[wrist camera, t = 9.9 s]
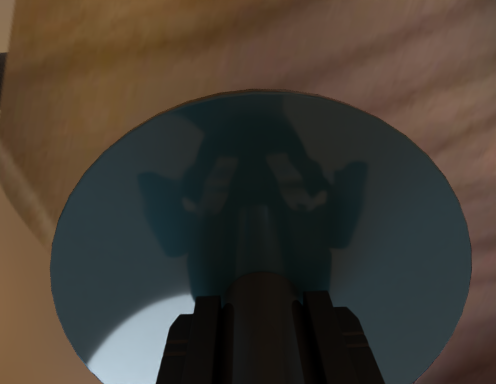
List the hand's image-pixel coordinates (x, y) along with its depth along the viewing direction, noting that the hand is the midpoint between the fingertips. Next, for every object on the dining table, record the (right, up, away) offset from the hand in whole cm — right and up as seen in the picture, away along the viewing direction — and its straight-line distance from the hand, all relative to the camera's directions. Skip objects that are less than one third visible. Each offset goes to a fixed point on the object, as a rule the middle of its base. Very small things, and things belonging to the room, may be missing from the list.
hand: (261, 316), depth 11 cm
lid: (0, 0, +1) cm, 1 cm away
